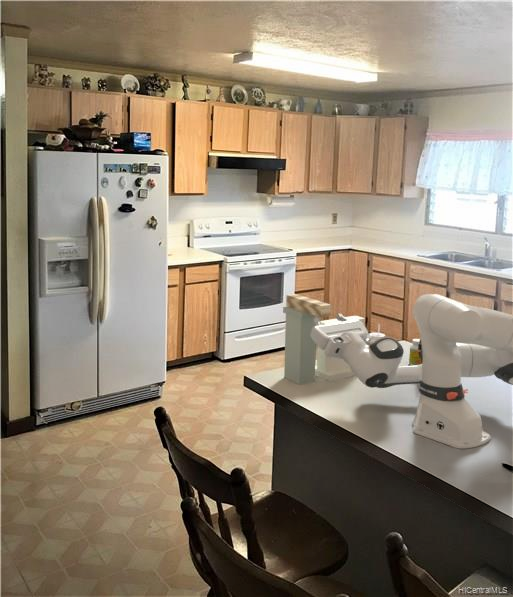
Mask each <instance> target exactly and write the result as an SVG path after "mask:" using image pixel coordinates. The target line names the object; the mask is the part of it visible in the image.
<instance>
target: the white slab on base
mask: <svg viewBox="0 0 513 597" xmlns="http://www.w3.org/2000/svg"><path fill="white" fill-rule="evenodd" d="M345 317H346V318H348V319H349V320H350V321H352V320H360V321H361V322H362V323H363V324H364V326H365V322H366V318H365V317H362V316H358V315H351V316H345ZM339 322H341V321H338V320H337V319H336V318H331V319H324V320H321V322H320V324H322V325H326V324H333V323H339ZM365 327H366V326H365ZM315 376H317V377H320V378H321V379H323V380H326V381H328V382H332V381H335V380H340V379H345V378H350V377H353V376H356V375H355V374H354V373H353V372H352V370H351V368H350V366H349V364H348V363H346V362H345V361H344V360H343V359H340V358H336V357H327V356H326V355H325V354H324V350H322V349H321V348H319V347H318V346H317V347H316V364H315Z"/></svg>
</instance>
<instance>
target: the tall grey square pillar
mask: <svg viewBox="0 0 513 597" xmlns="http://www.w3.org/2000/svg"><path fill="white" fill-rule="evenodd" d="M282 310H283V311H282V312H283V313H284V314H285V330H284V332H285V335H284V337H285V338H284V339H285V340H284V367H283V368H284V372H283V373H284V375H283V376H284V377H283V378H284V379H286V380H289V381H290V382H293V383H294V384H297V385H303V384H309V383H312V382H315V381H316V375H315V365H316V364H317V344H316V343H315V342H314V341H313V339H312V338H311V336H310V334H311V331H312V329H313V327H314V326H316V324H315V322H314V318H315V317H318V316H315V315H312V314H309V313H306V312H303V311H300V310H297V309H294V308H291V307H288V306H283V307H282Z"/></svg>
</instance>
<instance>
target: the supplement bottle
mask: <svg viewBox="0 0 513 597" xmlns="http://www.w3.org/2000/svg"><path fill="white" fill-rule="evenodd" d="M420 339H421V338H413V339H412V342H411V343H412V344H411V345H410V346H409V357H408V363H409V366H412V365H420V364H422V363H421V360H420V358H419V354H418V344H419V341H420Z"/></svg>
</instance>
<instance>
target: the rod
mask: <svg viewBox="0 0 513 597" xmlns="http://www.w3.org/2000/svg"><path fill="white" fill-rule="evenodd" d="M285 297H286V298H285V300H286V302H285V307H291V308H294V309H297V310H300V311H303V312H306V313H309V314H312V315H315V316H318V317H319V318H320V319H322V318H328V317H331V315H332V304H330V303H328V302H325V301H320V300H318V299H314V298H309V297H307V296H304V295H300V294H296V293H293V294H292V293H291V294H286V296H285Z"/></svg>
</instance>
